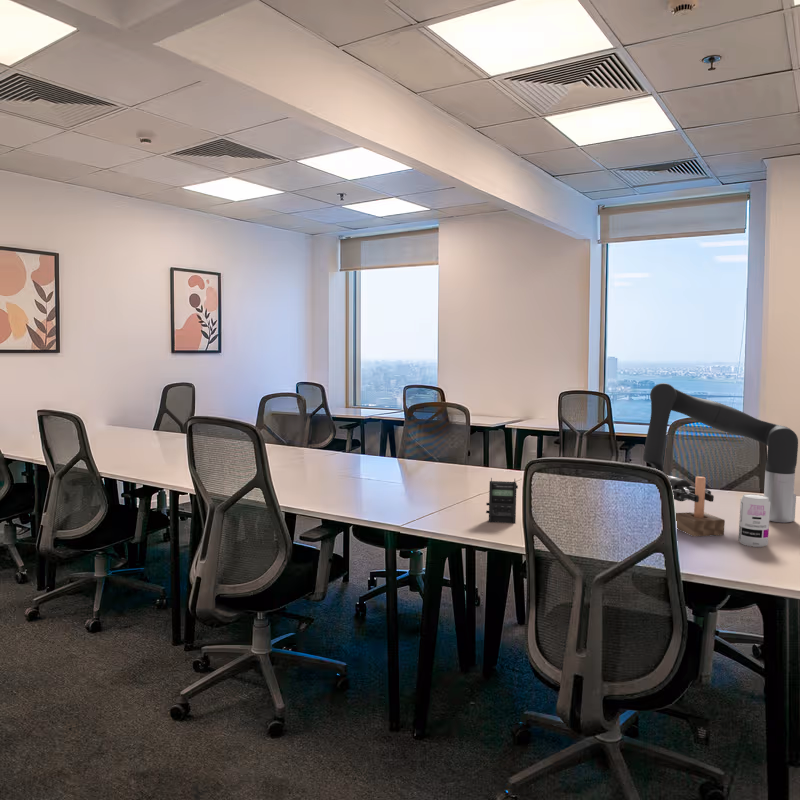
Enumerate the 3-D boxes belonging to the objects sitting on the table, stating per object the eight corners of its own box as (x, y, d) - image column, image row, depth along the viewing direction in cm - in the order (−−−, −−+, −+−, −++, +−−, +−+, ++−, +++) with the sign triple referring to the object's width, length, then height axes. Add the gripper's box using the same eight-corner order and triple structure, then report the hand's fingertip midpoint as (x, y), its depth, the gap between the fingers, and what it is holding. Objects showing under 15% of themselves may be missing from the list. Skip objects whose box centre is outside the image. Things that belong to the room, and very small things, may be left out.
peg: (699, 529, 233) (701, 476, 232) (705, 532, 230) (707, 478, 229) (691, 530, 232) (693, 476, 231) (696, 532, 229) (699, 478, 228)
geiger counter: (485, 522, 238) (486, 479, 237) (486, 519, 243) (487, 476, 241) (516, 524, 237) (518, 480, 236) (516, 521, 241) (517, 478, 240)
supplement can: (755, 539, 222) (758, 493, 220) (773, 547, 214) (776, 499, 212) (732, 540, 220) (735, 493, 219) (750, 548, 212) (752, 499, 211)
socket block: (703, 526, 237) (703, 511, 237) (723, 535, 227) (724, 520, 226) (673, 527, 235) (674, 513, 235) (693, 536, 225) (694, 521, 224)
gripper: (656, 478, 242) (685, 488, 226) (693, 477, 245) (725, 486, 228) (655, 499, 243) (684, 510, 226) (692, 498, 246) (724, 509, 229)
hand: (705, 498), depth 227 cm, fingers open, 4 cm apart
